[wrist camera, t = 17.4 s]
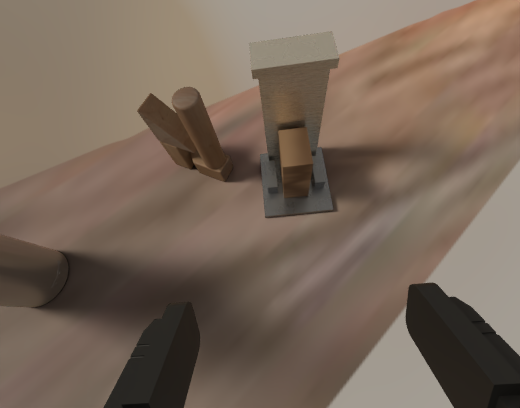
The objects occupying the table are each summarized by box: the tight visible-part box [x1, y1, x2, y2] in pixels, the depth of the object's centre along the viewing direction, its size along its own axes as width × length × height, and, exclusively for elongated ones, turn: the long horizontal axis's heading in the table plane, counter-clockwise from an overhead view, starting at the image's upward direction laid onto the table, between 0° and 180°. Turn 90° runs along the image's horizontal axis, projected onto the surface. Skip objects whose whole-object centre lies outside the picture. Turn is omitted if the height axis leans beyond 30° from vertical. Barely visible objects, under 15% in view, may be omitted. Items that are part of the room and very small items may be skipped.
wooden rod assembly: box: [137, 87, 233, 182], centre depth 41 cm, size 4×11×18 cm, turn 66°
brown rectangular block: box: [278, 127, 313, 198], centre depth 41 cm, size 4×6×10 cm, turn 4°
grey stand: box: [249, 31, 339, 218], centre depth 37 cm, size 11×13×21 cm
